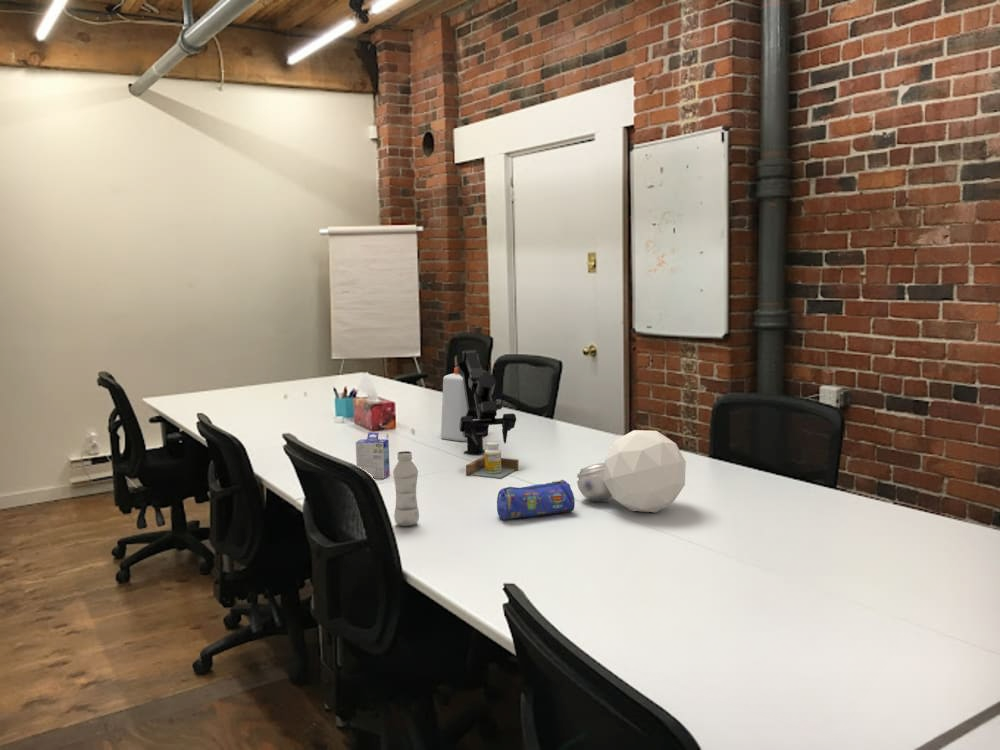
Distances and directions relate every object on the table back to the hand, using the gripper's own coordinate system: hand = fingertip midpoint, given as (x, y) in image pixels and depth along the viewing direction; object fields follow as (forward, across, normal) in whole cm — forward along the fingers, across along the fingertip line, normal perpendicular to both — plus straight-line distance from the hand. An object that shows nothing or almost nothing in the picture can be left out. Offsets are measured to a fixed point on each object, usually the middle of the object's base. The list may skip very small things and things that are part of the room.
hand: (491, 443), depth 281 cm
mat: (+8, 0, +6) cm, 10 cm away
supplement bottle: (+8, 0, +6) cm, 9 cm away
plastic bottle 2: (-32, 0, +46) cm, 56 cm away
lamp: (+41, +29, -28) cm, 58 cm away
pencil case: (+42, +2, -28) cm, 50 cm away
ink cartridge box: (+3, -39, +11) cm, 40 cm away
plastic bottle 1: (+40, -34, -27) cm, 59 cm away
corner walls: (+8, 0, +6) cm, 10 cm away
